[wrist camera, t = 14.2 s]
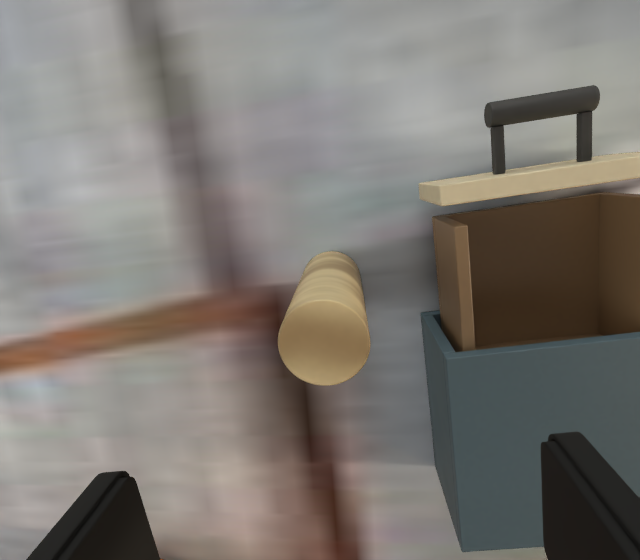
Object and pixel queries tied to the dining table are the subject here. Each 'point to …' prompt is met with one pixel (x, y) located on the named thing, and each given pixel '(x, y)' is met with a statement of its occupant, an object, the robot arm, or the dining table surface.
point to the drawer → (538, 240)
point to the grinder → (326, 322)
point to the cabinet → (524, 424)
